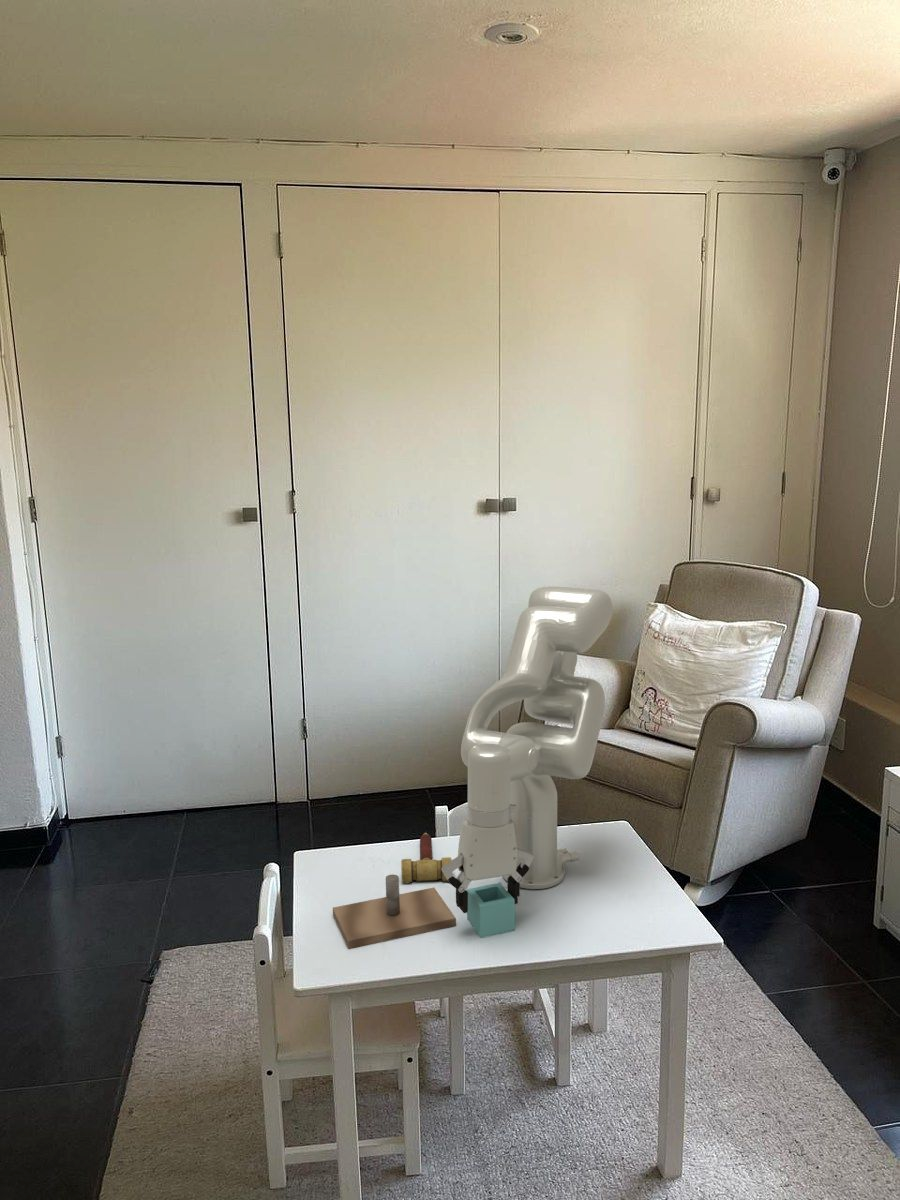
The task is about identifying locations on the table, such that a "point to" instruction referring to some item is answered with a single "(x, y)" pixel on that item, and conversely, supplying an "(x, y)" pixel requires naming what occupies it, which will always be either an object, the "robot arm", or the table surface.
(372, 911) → the post stand
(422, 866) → the gavel
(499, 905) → the collar
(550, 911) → the table surface
